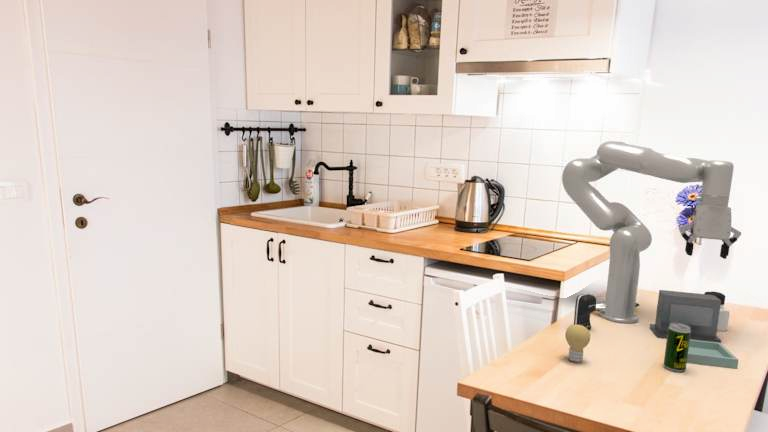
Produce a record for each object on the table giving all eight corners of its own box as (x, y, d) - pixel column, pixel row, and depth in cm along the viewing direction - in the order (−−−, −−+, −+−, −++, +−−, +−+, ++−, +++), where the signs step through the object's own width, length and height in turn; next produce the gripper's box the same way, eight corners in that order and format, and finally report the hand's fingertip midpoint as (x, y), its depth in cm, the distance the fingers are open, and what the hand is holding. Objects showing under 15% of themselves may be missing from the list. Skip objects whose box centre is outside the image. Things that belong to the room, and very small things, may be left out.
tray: (685, 362, 154) (686, 353, 154) (671, 345, 167) (672, 337, 167) (737, 368, 152) (738, 359, 152) (719, 351, 165) (720, 342, 164)
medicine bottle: (727, 331, 183) (732, 296, 181) (705, 330, 183) (710, 295, 181) (714, 324, 190) (719, 290, 188) (693, 323, 190) (698, 289, 188)
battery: (583, 333, 173) (586, 298, 172) (572, 330, 176) (575, 295, 175) (595, 329, 178) (598, 295, 176) (584, 326, 181) (588, 292, 179)
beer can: (658, 365, 152) (664, 323, 150) (674, 363, 153) (679, 321, 152) (674, 373, 147) (680, 330, 145) (690, 371, 148) (696, 328, 146)
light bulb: (557, 357, 154) (561, 322, 152) (575, 354, 156) (579, 320, 155) (574, 366, 148) (578, 330, 146) (592, 363, 150) (596, 328, 149)
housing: (657, 337, 173) (662, 295, 171) (649, 328, 182) (654, 288, 180) (720, 344, 170) (726, 302, 168) (709, 334, 179) (715, 294, 177)
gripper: (687, 200, 167) (679, 256, 170) (750, 205, 164) (741, 261, 166) (679, 197, 174) (672, 251, 177) (739, 202, 171) (731, 256, 174)
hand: (705, 256), depth 172 cm, fingers open, 9 cm apart
